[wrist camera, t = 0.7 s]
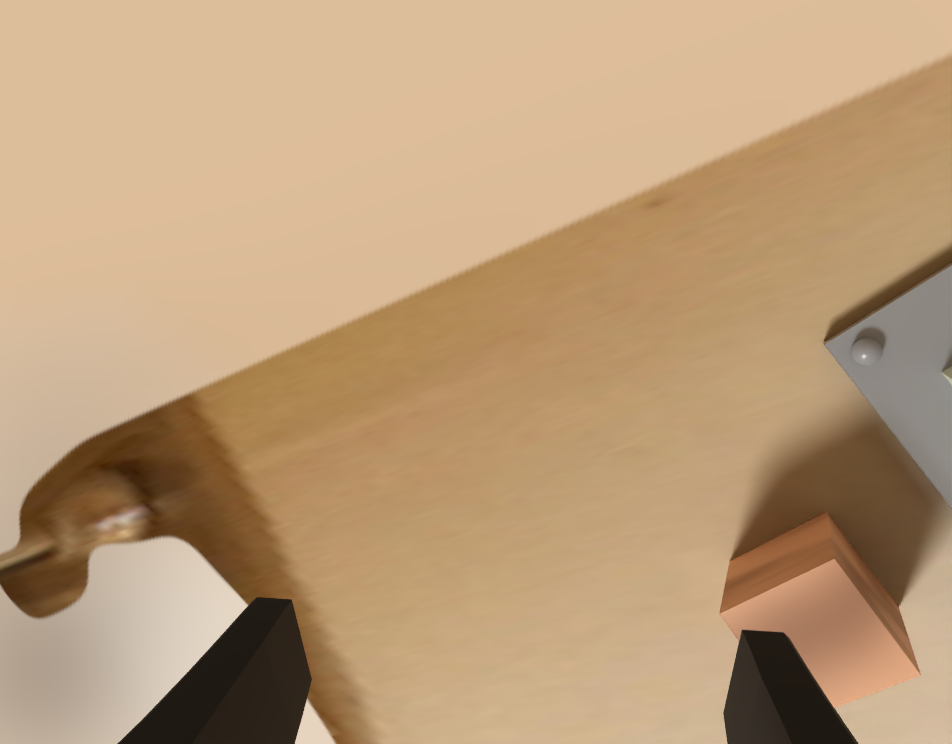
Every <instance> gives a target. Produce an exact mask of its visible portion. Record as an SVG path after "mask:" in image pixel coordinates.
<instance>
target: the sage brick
mask: <svg viewBox="0 0 952 744" xmlns="http://www.w3.org/2000/svg"><path fill="white" fill-rule="evenodd" d="M942 374H943V375H944V376H945V377H946V379H947V380H948V381H949V382H950V384H951V385H952V366H951V367H949V368H948V369H946V370H944V371H942Z"/></svg>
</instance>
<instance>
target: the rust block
mask: <svg viewBox="0 0 952 744" xmlns="http://www.w3.org/2000/svg"><path fill="white" fill-rule="evenodd" d="M720 615H721V617H722V618H723V620H724V621H725V622H726V624H727V625H728V627H729V628H730V629H731V631H732V632H733V634H734V635H735V637H736V638H737V639H738V641H739V640H740V636H741V631H742V630H756V631H771V632H784V633H785V634H786V635H787V636H788V637H789V638H790V640H791V641H792V643H793V645H794V646H795V648H796V649H797V651H798V653H799V654H800V656H801V657H802V659H803V661H804V662H805V664H806V665H807V667H808V669H809V670H810V672H811V673H812V675H813V676H814V678H815V680H816V681H817V683H818V684H819V686H820V687H821V689H822V690H823V692H824V693H825V695H826V697H827V698H828V700H829V701H830V703H831V704H832V706H833V707H834V708H836V707H838V706H841V705H844V704H846V703H849V702H852V701H854V700H857V699H859V698H862V697H865V696H867V695H870V694H872V693H875V692H878V691H880V690H883V689H886V688H888V687H891V686H893V685H896V684H899V683H901V682H904V681H907V680H909V679H912V678H914V677H917V676H920V675H921V674H920V671H919V668H918V665H917V662H916V659H915V656H914V653H913V650H912V647H911V644H910V641H909V638H908V635H907V632H906V628H905V625H904V622H903V619H902V616H901V613H900V610H899V607H898V606H897V605H896V603H895V602H894V601H893V599H892V598H891V597H890V595H889V594H888V593H887V591H886V590H885V589H884V587H883V586H882V585H881V583H880V582H879V581H878V579H877V578H876V577H875V575H874V574H873V573H872V571H871V570H870V569H869V567H868V566H867V565H866V563H865V562H864V561H863V559H862V558H861V557H860V555H859V554H858V553H857V551H856V550H855V549H854V547H853V546H852V545H851V543H850V542H849V541H848V539H847V538H846V537H845V535H844V534H843V533H842V531H841V530H840V529H839V527H838V526H837V525H836V523H835V522H834V521H833V519H832V518H831V517H830V515H829V514H828V513H827V512H825V513H823V514H821V515H819V516H817V517H815V518H813V519H811V520H809V521H807V522H805V523H803V524H801V525H800V526H798V527H796V528H794V529H792V530H790V531H788V532H786V533H784V534H782V535H780V536H778V537H776V538H774V539H772V540H770V541H768V542H766V543H764V544H762V545H760V546H759V547H757V548H755V549H753V550H751V551H749V552H747V553H745V554H743V555H741V556H739V557H737V558H735V559H733V560H731V561H730V562H729V567H728V573H727V578H726V583H725V588H724V593H723V598H722V603H721V609H720Z"/></svg>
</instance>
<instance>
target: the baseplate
mask: <svg viewBox="0 0 952 744" xmlns="http://www.w3.org/2000/svg"><path fill="white" fill-rule="evenodd" d="M823 343H824V345H825V346H826V348H827V349H828V350H829V352H830V353H831V354H832V355H833V357H834V358H835V359H836V361H837V362H838V363H839V364H840V366H841V367H842V368H843V370H844V371H845V372H846V373H847V375H848V376H849V377H850V379H851V380H852V381H853V382H854V384H855V385H856V386H857V388H858V389H859V390H860V391H861V393H862V394H863V395H864V396H865V398H866V399H867V400H868V402H869V403H870V404H871V405H872V407H873V408H874V409H875V411H876V412H877V413H878V414H879V416H880V417H881V418H882V420H883V421H884V422H885V423H886V425H887V426H888V427H889V429H890V430H891V431H892V432H893V434H894V435H895V436H896V438H897V439H898V440H899V441H900V443H901V444H902V445H903V447H904V448H905V449H906V450H907V452H908V453H909V454H910V456H911V457H912V458H913V459H914V461H915V462H916V463H917V465H918V466H919V467H920V468H921V470H922V471H923V472H924V474H925V475H926V476H927V477H928V479H929V480H930V481H931V483H932V484H933V485H934V486H935V488H936V489H937V490H938V492H939V493H940V494H941V495H942V497H943V498H944V499H945V501H946V502H947V503H948V504H949V506H950V507H951V508H952V385H951V384H950V382H949V381H948V380H947V379H946V377H945V376H944V375H943V374H942V371H944V370H946V369H948V368H949V367H951V366H952V262H951V263H950V264H948V265H947V266H945V267H943V268H942V269H940V270H939V271H937V272H935V273H934V274H932V275H930V276H929V277H927V278H926V279H924V280H922V281H921V282H919V283H918V284H916V285H914V286H913V287H911V288H910V289H908V290H906V291H905V292H903V293H902V294H900V295H898V296H897V297H895V298H894V299H892V300H890V301H889V302H887V303H886V304H884V305H882V306H881V307H879V308H878V309H876V310H874V311H873V312H871V313H870V314H868V315H866V316H865V317H863V318H862V319H860V320H858V321H857V322H855V323H854V324H852V325H850V326H849V327H847V328H846V329H844V330H842V331H841V332H839V333H838V334H836V335H834V336H833V337H831V338H830V339H828V340H826V341H825V342H823Z"/></svg>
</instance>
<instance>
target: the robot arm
mask: <svg viewBox="0 0 952 744" xmlns="http://www.w3.org/2000/svg"><path fill="white" fill-rule="evenodd" d="M311 680H312V679H311V675H310V671H309V667H308V663H307V659H306V655H305V651H304V647H303V643H302V639H301V635H300V631H299V627H298V623H297V619H296V615H295V611H294V607H293V603H292V600H290V599H275V598H260V597H257V598H256V599H255V600H253V601H252V602H251V603H250V604H249V606H248V607H247V608H246V609H245V610H244V611H243V612H242V613H241V614H240V615H239V616H238V618H237V619H236V620H235V621H234V622H233V623H232V624H231V625H230V627H229V628H228V629H227V630H226V631H225V632H224V633H223V634H222V635H221V636H220V638H219V639H218V640H217V641H216V642H215V643H214V644H213V645H212V646H211V648H210V649H209V650H208V651H207V652H206V653H205V654H204V655H203V656H202V657H201V658H200V659H199V661H198V662H197V663H196V664H195V665H194V666H193V667H192V668H191V669H190V670H189V672H187V674H186V675H185V676H184V677H183V678H182V679H181V680H180V681H179V682H178V683H177V684H176V685H175V686H174V687H173V688H172V689H171V690H170V691H169V692H168V693H167V695H166V696H165V697H164V698H163V699H162V700H161V701H160V702H159V703H158V704H157V705H156V706H155V707H154V708H153V709H152V710H151V711H150V712H149V713H148V714H147V715H146V717H144V718H143V720H142V721H140V722H139V723H138V724H137V725H136V726H135V727H134V728H133V729H132V730H131V731H130V732H129V733H128V734H127V735H126V736H125V737H124V738H123V739H122V740H121V741H120V742H119V743H118V744H295V740H296V736H297V733H298V729H299V726H300V722H301V719H302V715H303V711H304V707H305V703H306V700H307V696H308V692H309V688H310V684H311ZM724 720H725V728H726V735H727V742H728V744H858V742H857V741H856V739H855V738H854V736H853V735H852V734H851V732H850V731H849V729H848V728H847V726H846V725H845V723H844V722H843V720H842V719H841V717H840V716H839V714H838V713H837V711H836V710H835V709H834V707H833V706H832V704H831V703H830V701H829V700H828V698H827V697H826V695H825V693H824V692H823V690H822V689H821V687H820V686H819V684H818V683H817V681H816V680H815V678H814V676H813V675H812V673H811V672H810V670H809V669H808V667H807V665H806V664H805V662H804V661H803V659H802V657H801V656H800V654H799V653H798V651H797V649H796V648H795V646H794V645H793V643H792V641H791V640H790V638H789V637H788V636H787V635H786V634H785V633H784V632H771V631H756V630H742V631H741V636H740V640H739V645H738V649H737V654H736V658H735V663H734V668H733V672H732V677H731V681H730V686H729V690H728V695H727V699H726V704H725V708H724Z"/></svg>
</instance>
